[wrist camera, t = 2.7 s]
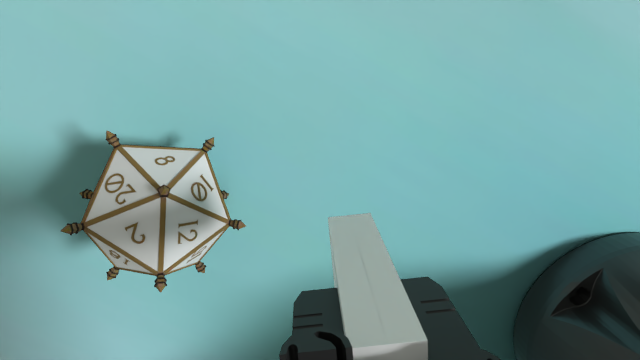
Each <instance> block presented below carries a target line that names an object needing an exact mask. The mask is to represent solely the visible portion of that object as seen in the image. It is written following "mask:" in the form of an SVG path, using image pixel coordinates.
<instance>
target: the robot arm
mask: <svg viewBox="0 0 640 360" xmlns="http://www.w3.org/2000/svg"><path fill="white" fill-rule="evenodd" d="M328 223H329V234H330V244H331V254H332V265H333V275H334V286H335V288H329V289H319V290H310V291H302V292H301V293H300V295H299V296H298V298H297V299H296V301H295V302H294V310H293V331H292V336H291V337H290V338H289V339H288V340H287V341H286V342H285V343H284V344H283V346H282V348H281V351H280V354H279V357H280V360H500V359H499V358H498V357H496V356H495V355H493V354H491V353H489V352H488V351H486V350H482V349H480V347H479V345H478V344H477V342H476V341H475V339H474V337H473V336H472V334H471V333H470V331H469V329H468V328H467V326H466V325H465V323H464V321H463V320H462V318H461V317H460V315H459V313H458V312H457V311H456V310H455V307H454V305H453V304H452V302H451V301H449V298H448V296H447V294H446V293H445V291H444V290H443V288H442V286H440V285H439V284H437V283H436V282H435V281H433V280H432V279H430V278H429V277H421V278H411V279H402V280H400V278H399V276H398V273H397V271H396V269H395V267H394V265H393V262H392V260H391V258H390V256H389V253H388V251H387V249H386V247H385V245H384V242H383V240H382V238H381V236H380V233H379V231H378V229H377V227H376V225H375V222H374V220H373V218H372V216H371V213H366V214H356V215H347V216H337V217H328ZM513 342H514V351H515V355H516V359H517V360H640V233H623V234H616V235H611V236H607V237H603V238H600V239H597V240H594V241H591V242H589V243H586V244H584V245H582V246H580V247H578V248H576V249H574V250H572V251H571V252H569V253H567V254H566V255H564V256H563V257H561V258H560V259H559V260H557V261H556V262H555V263H554V264H552V265H551V266H550V267H549V268H548V269H547V270H546V271H545V272H544V273H543V274H542V275H541V276H540V277H539V278H538V279H537V281H536V282H535V283H534V284H533V286H532V287H531V288H530V290H529V291H528V293H527V295H526V296H525V298H524V300H523V302H522V304H521V306H520V309H519V311H518V314H517V318H516V321H515V326H514V335H513Z"/></svg>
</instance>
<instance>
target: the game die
mask: <svg viewBox="0 0 640 360" xmlns="http://www.w3.org/2000/svg"><path fill="white" fill-rule="evenodd" d="M106 140H107V141H108V142H109V143H108V144H111V145H112V146H113V147H114V149H113V151H112V153H111V156H110V158H109V160H108V162H107V164H106V166H105V169H104V171H103V173H102V175H101V177H100V179H99V181H98V184H97V186H96V188H95V190H94V192H92V191H91V190H88V189H86V190H85V191H83V192H80V194H81V196H82V198H86V199H90V202H89V204H88V207H87V209H86V212H85V214H84V216H83V219H82V221H81V223H80V224H77V223H73V224H67V226H66V227H64V228H63V229H62V230H61V231H62V232H65V233H68V234H70V235H72V234H73V233H76V234H77V233H78V232H79V231H81V230H84V232H85V233H86V234H87V235H88V236H89V237H90V239H91V240H92V241H93V242H94V243H95V244H96V246H97V247H98V248H99V249H100V250H101V251H102V253H103V254H104V255H105V256H106V257H107V258H108V259H109V261H110V262H111V263H112V264H113V265H114V267H113V268H111V269H109V272H106V273H107V280H110V279H112V278H116V275H118V272H119V269H121V270H127V271H132V272H138V273H143V274H149V275H154V276H157V279H156V280H155V282H156V284H155V285H154V287H156V288H157V289H158V290H159V291H160V292H161V291H162V290H163V289H164V287H165V286H167V284H166V279H165V277H164V276H165V275H167V274H170V273H172V272H175V271H178V270H181V269H183V268H186V267H189V266H192V265H194V264H195V265H196V269H197V270H198V272H202V273H205V267H206V265H204V263H202V262H200V260H201V259H202V258H203V257H204V255H205V254H206V253H207V252H208V251H209V250H210V248H211V247H212V246H213V245H214V244H215V242H216V241H217V240H218V239H219V238H220V237H221V235H222V234H223V233H224V232H225V231H226V229H227V228H228V227H229V226H231V227H233V229H235V228H236V229H237V230H239V229H240V228H243V227H245V226H246V225H245V224H244V223H243V222H241V220H231V218H230V216H229V213H228V210H227V207H226V205H225V202H224V199H227V196H228V195H229V194H228V193H226V192H225V191H223V192H222V191H220V188H219V185H218V182H217V179H216V177H215V174H214V171H213V168H212V166H211V163H210V160H209V157H208V154H207V151H209V150H211V148H212V147H213V146H214V138H211V139H209V140H205V141H206V142H205V143H203V148H202V149H196V148H176V147H161V146H160V147H157V146H138V145H121V144H120V143H119V138H117V137H116V134H113V133H111V132H109V131H107V132H106Z"/></svg>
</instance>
